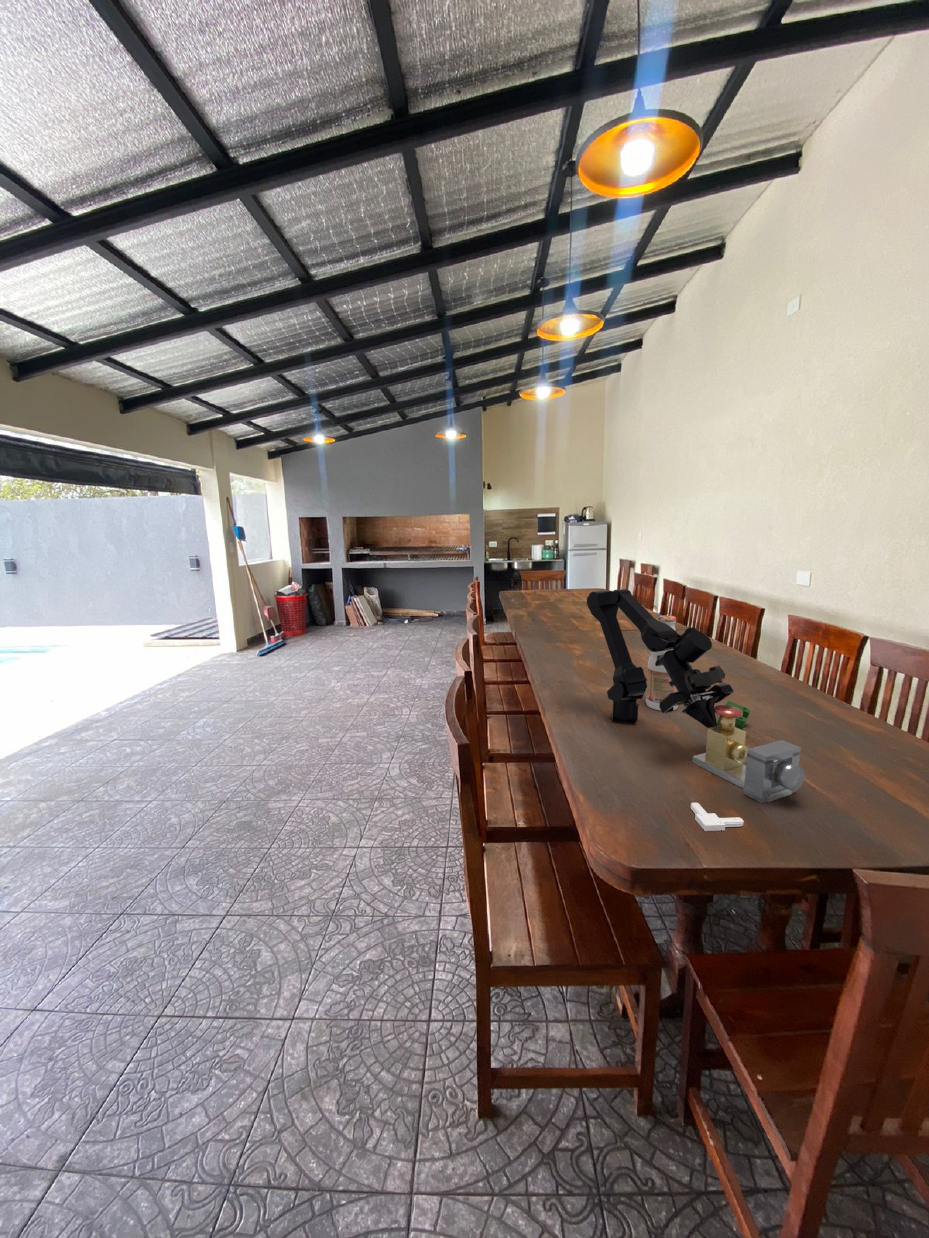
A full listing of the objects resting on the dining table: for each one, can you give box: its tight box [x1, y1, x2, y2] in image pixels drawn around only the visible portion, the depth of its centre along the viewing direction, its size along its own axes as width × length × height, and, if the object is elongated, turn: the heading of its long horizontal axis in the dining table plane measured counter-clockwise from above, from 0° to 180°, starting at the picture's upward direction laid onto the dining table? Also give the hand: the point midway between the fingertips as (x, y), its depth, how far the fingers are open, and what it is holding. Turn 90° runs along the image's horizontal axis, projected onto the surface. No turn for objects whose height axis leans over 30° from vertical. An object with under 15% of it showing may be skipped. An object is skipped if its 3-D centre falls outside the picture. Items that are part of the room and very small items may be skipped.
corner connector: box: [690, 802, 745, 832], centre depth 95 cm, size 8×8×2 cm
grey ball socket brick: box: [692, 739, 806, 804], centre depth 108 cm, size 22×10×10 cm, turn 23°
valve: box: [705, 704, 751, 770], centre depth 112 cm, size 8×6×13 cm
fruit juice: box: [645, 614, 679, 712], centre depth 151 cm, size 9×9×28 cm
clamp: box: [717, 700, 751, 731], centre depth 136 cm, size 12×6×9 cm, turn 139°
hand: (715, 731), depth 115 cm, fingers closed, pressing on valve
